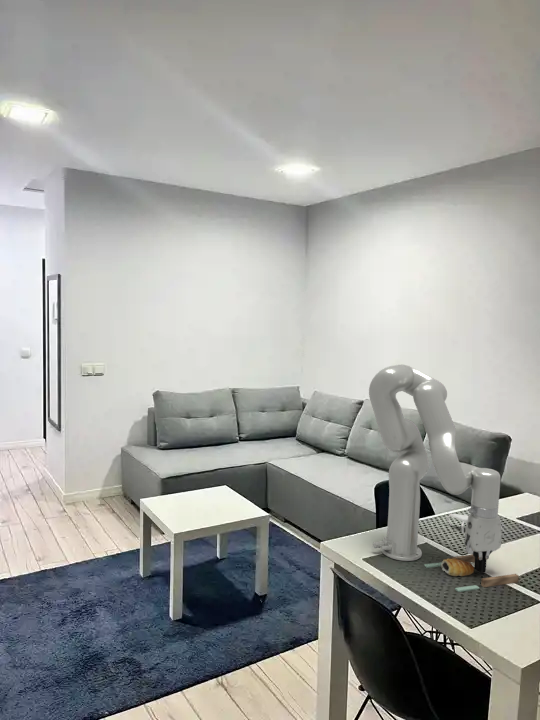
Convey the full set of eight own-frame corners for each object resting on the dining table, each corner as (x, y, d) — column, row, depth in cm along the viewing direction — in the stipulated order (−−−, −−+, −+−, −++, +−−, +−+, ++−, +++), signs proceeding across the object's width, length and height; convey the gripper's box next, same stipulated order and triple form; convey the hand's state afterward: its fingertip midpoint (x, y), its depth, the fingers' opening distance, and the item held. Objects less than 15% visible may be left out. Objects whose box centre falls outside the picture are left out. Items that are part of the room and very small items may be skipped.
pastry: (466, 566, 173) (467, 554, 172) (479, 576, 166) (480, 564, 166) (438, 567, 171) (439, 555, 170) (449, 578, 164) (450, 565, 164)
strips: (458, 592, 156) (458, 590, 156) (424, 565, 172) (424, 564, 172) (479, 589, 158) (479, 587, 158) (443, 563, 174) (443, 562, 174)
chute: (483, 587, 159) (484, 580, 159) (450, 563, 174) (450, 557, 174) (518, 582, 163) (518, 575, 163) (482, 559, 178) (483, 553, 178)
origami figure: (481, 529, 203) (482, 516, 202) (477, 537, 196) (478, 523, 195) (447, 522, 209) (448, 509, 208) (441, 529, 202) (442, 516, 201)
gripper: (471, 517, 160) (467, 579, 162) (513, 513, 165) (509, 573, 167) (454, 508, 167) (450, 568, 169) (495, 504, 172) (491, 562, 174)
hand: (479, 570), depth 168 cm, fingers closed
